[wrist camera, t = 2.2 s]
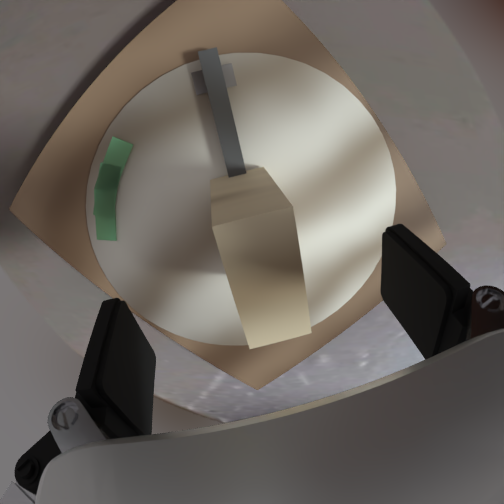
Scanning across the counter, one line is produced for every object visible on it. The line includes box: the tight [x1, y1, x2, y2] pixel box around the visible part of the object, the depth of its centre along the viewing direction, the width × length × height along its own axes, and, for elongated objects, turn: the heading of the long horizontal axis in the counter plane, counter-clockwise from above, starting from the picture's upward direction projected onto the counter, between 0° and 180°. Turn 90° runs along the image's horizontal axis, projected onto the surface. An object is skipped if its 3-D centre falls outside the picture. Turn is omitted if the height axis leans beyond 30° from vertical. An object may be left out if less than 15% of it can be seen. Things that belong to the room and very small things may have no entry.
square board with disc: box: [9, 0, 446, 390], centre depth 18 cm, size 23×19×2 cm
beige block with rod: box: [198, 47, 312, 349], centre depth 13 cm, size 12×3×6 cm, turn 12°
